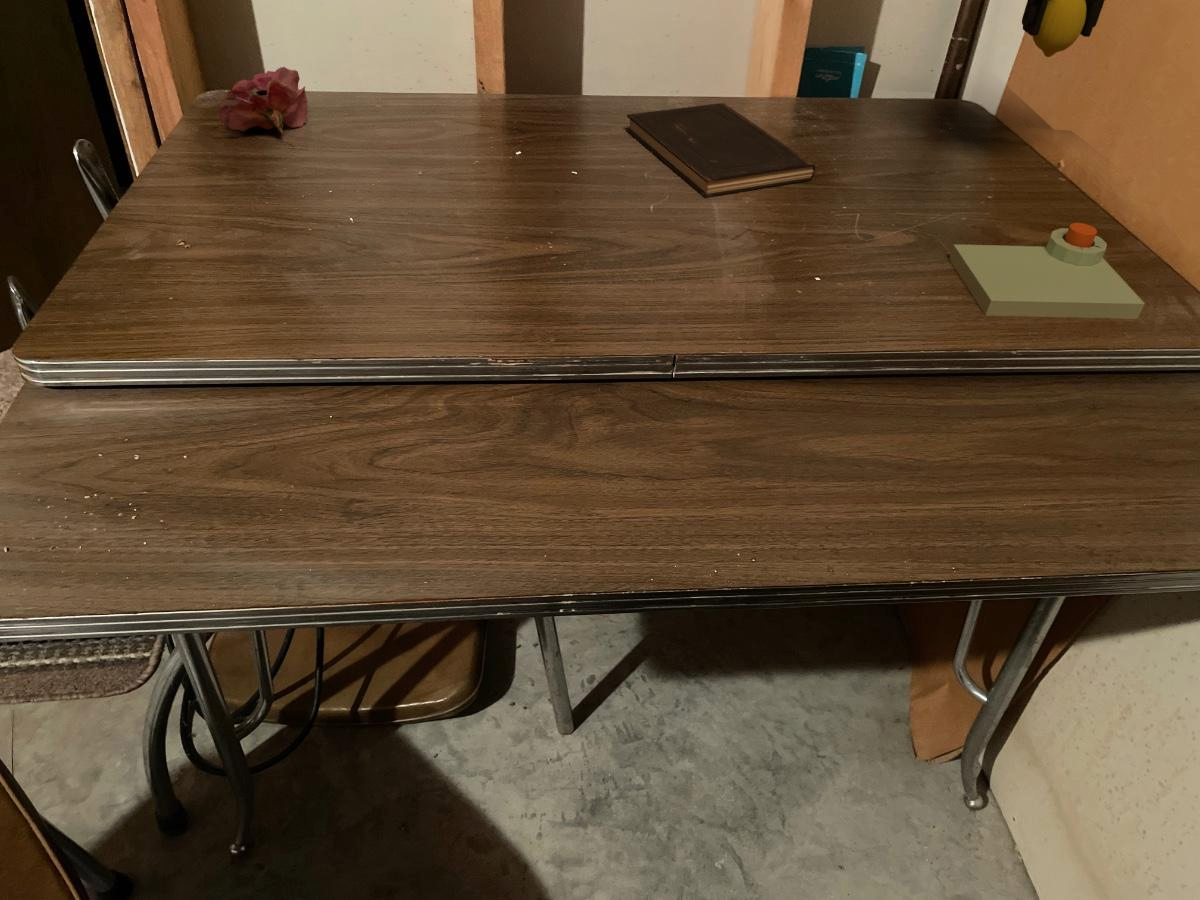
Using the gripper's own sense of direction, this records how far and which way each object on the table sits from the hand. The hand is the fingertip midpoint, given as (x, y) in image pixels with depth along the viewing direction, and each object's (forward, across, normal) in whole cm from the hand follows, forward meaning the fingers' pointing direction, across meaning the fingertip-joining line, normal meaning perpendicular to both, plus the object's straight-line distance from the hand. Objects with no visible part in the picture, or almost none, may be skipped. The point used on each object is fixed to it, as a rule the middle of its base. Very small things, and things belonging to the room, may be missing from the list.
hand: (1055, 31), depth 109 cm
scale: (+18, -7, -29) cm, 35 cm away
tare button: (+15, -2, -24) cm, 29 cm away
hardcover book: (+18, -38, +5) cm, 43 cm away
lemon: (+3, 0, 0) cm, 3 cm away
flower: (+17, -98, +7) cm, 100 cm away
